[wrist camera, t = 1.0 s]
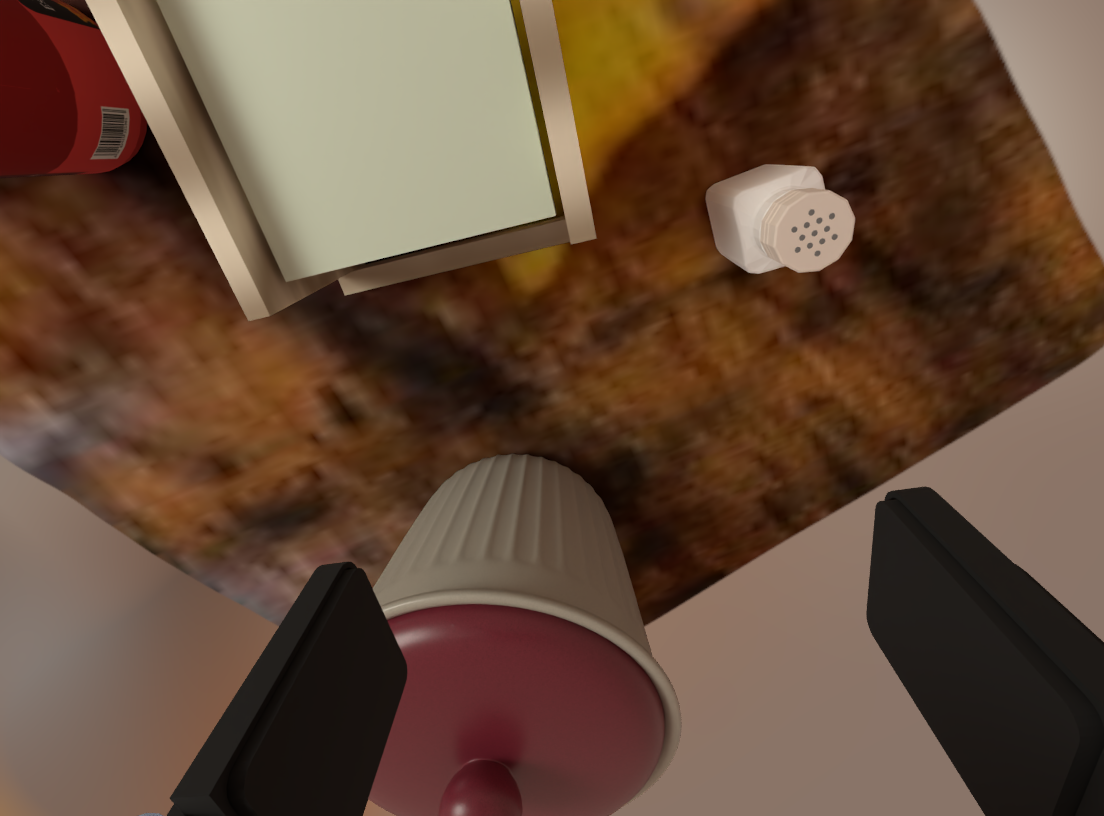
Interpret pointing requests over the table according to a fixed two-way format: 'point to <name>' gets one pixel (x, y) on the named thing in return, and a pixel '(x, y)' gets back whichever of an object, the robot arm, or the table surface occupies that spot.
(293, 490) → the table surface
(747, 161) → the table surface
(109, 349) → the table surface
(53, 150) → the canned food
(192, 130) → the stand
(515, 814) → the canister
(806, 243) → the pepper shaker
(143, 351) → the table surface
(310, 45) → the trapdoor
